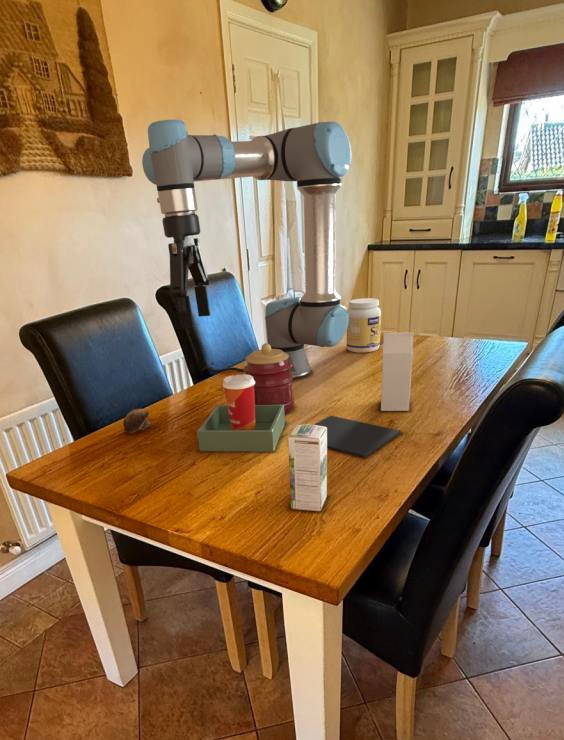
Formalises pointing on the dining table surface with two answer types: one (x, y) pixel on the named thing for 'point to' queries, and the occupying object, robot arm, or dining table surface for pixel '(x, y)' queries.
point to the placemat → (355, 436)
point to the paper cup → (240, 401)
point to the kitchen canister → (271, 377)
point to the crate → (223, 438)
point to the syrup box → (308, 467)
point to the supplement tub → (363, 325)
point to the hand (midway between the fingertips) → (196, 322)
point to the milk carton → (396, 371)
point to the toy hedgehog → (136, 420)
